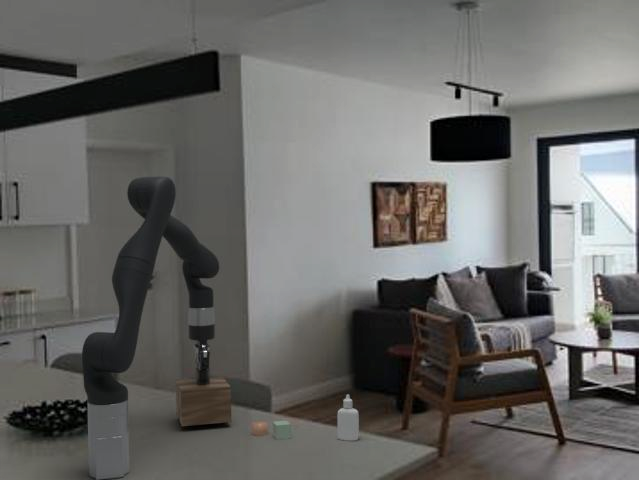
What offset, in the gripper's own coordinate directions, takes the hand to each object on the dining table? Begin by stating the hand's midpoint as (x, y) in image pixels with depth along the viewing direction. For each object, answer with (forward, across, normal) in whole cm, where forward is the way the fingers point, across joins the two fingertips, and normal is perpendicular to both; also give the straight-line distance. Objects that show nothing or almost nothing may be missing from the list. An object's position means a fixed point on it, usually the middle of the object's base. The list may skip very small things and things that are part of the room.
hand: (202, 381), depth 213 cm
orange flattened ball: (+12, -15, -14) cm, 24 cm away
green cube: (+12, -20, -19) cm, 30 cm away
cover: (+11, 0, 0) cm, 11 cm away
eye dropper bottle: (+13, -28, -35) cm, 46 cm away
